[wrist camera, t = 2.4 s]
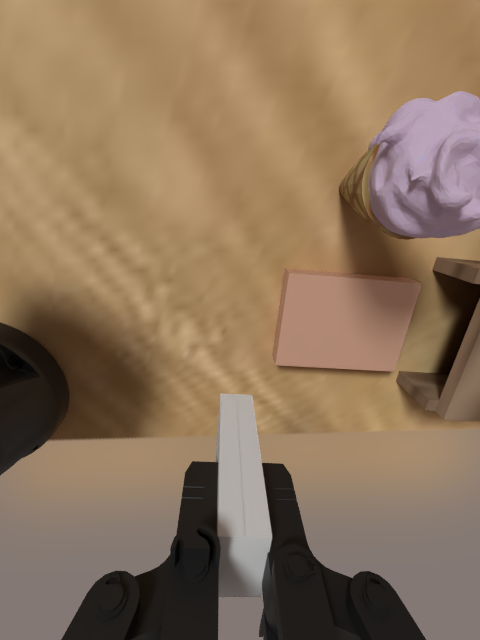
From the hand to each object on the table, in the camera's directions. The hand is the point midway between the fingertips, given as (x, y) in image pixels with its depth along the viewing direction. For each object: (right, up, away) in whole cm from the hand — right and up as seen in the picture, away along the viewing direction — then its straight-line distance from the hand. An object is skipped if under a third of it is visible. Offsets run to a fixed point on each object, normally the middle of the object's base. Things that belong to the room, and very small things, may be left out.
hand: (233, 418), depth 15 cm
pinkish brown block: (+10, +5, +16) cm, 19 cm away
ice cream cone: (+9, +16, +11) cm, 22 cm away
